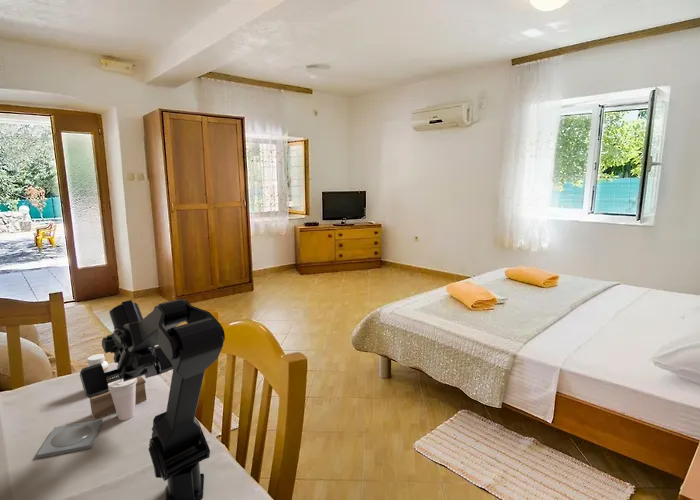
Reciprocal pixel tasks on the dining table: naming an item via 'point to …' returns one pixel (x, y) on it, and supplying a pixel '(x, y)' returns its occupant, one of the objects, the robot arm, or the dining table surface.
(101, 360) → the supplement bottle
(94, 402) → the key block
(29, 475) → the dining table surface
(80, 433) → the coaster
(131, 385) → the smoothie
